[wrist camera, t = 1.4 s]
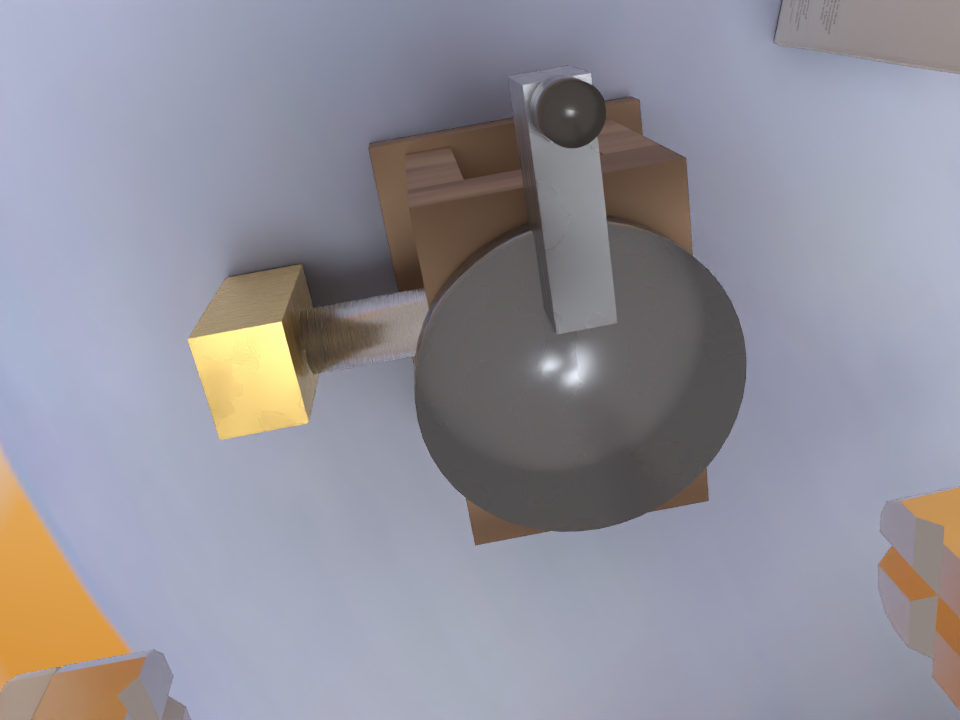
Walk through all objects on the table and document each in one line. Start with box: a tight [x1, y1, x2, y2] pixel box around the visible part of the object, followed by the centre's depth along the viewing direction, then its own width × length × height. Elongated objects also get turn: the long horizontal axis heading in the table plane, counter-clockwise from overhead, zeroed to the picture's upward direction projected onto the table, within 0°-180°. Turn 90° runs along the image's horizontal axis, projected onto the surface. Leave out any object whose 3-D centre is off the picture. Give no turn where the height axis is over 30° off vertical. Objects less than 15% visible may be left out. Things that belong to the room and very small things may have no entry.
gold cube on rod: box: [188, 264, 429, 440], centre depth 37 cm, size 4×20×8 cm, turn 99°
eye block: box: [369, 97, 709, 545], centre depth 35 cm, size 14×12×12 cm
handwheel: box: [414, 65, 746, 532], centre depth 26 cm, size 16×11×6 cm
